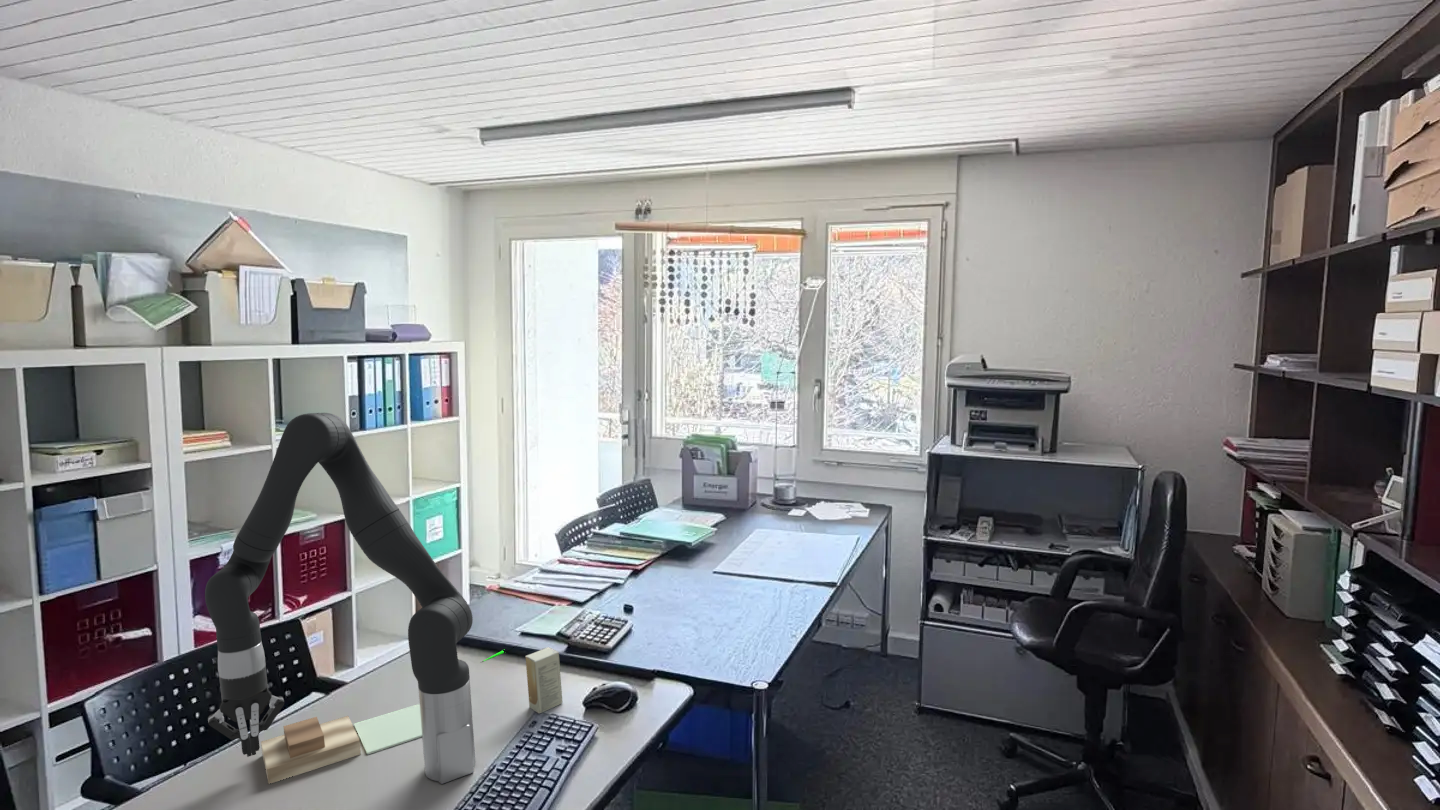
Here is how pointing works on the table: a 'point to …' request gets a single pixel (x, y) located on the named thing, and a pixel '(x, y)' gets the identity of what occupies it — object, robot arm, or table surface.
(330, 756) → the beige ridged block
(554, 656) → the skincare box
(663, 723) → the table surface
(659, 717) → the table surface
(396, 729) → the mat
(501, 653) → the pen
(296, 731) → the brown wooden block
